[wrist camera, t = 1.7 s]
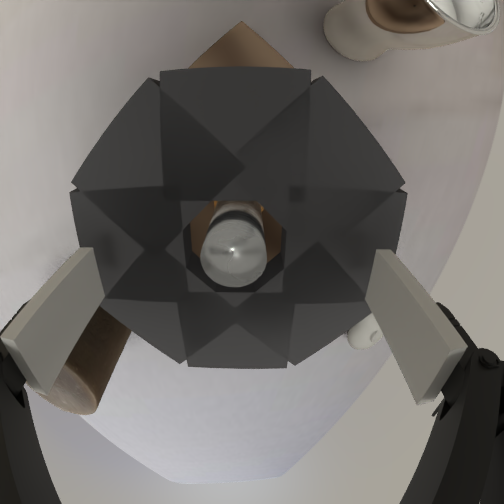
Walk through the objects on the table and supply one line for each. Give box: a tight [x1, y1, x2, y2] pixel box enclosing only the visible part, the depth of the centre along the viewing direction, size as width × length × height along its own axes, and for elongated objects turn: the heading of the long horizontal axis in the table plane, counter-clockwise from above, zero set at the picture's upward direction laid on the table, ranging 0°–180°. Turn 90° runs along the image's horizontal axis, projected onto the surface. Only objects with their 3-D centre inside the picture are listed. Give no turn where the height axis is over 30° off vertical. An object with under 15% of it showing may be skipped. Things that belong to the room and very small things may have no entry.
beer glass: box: [323, 0, 500, 62], centre depth 12 cm, size 7×7×15 cm
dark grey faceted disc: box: [69, 66, 407, 369], centre depth 16 cm, size 18×18×2 cm
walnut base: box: [188, 21, 294, 264], centre depth 25 cm, size 21×21×2 cm
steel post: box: [200, 201, 267, 287], centre depth 19 cm, size 4×4×11 cm
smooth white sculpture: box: [347, 313, 383, 350], centre depth 31 cm, size 4×8×5 cm
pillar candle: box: [26, 306, 132, 415], centre depth 24 cm, size 10×10×15 cm
